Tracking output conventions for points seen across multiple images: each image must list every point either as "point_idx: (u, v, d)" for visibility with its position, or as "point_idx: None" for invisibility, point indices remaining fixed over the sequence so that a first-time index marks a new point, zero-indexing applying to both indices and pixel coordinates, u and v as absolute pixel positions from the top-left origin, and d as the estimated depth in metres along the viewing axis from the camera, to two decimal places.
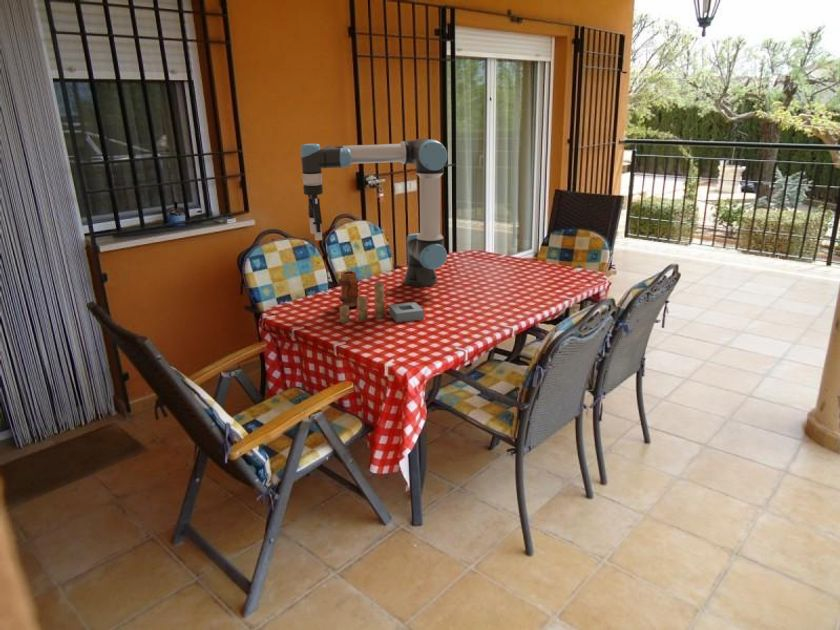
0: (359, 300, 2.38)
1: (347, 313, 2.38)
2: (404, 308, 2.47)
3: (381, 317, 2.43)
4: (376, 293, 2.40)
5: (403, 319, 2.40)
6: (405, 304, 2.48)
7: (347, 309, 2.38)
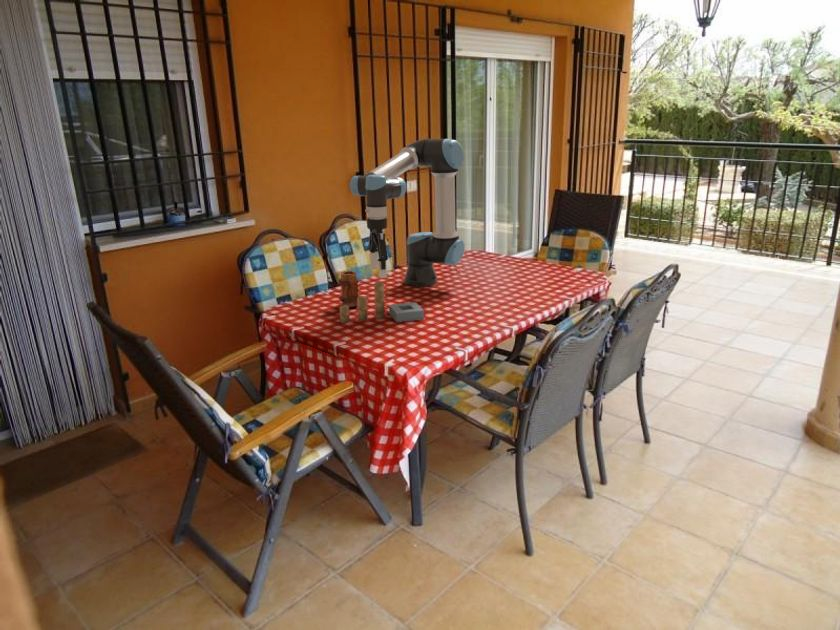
0: (359, 300, 2.38)
1: (347, 313, 2.38)
2: (404, 308, 2.47)
3: (381, 317, 2.43)
4: (376, 293, 2.40)
5: (403, 319, 2.40)
6: (405, 304, 2.48)
7: (347, 309, 2.38)
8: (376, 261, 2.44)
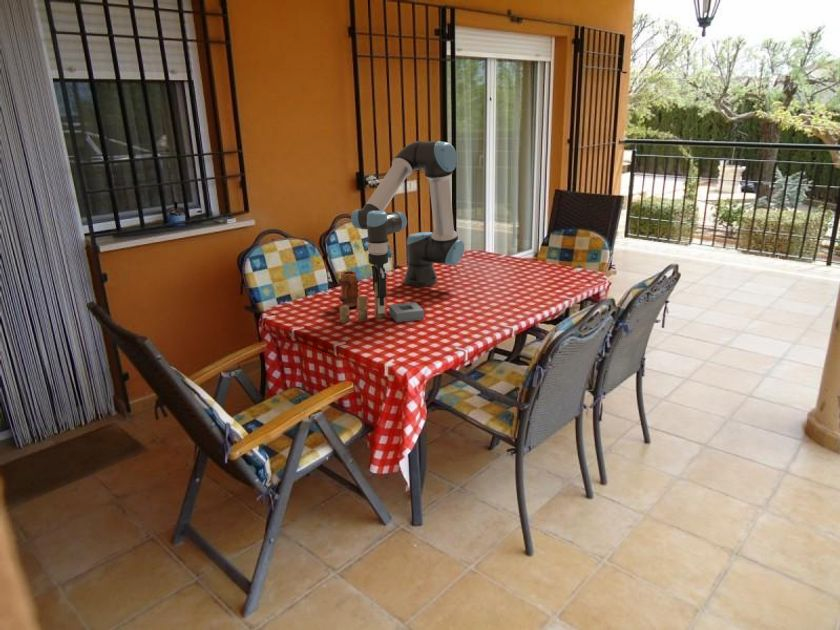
0: (359, 300, 2.38)
1: (347, 313, 2.38)
2: (404, 308, 2.47)
3: (381, 317, 2.43)
4: (376, 293, 2.40)
5: (403, 319, 2.40)
6: (405, 304, 2.48)
7: (347, 309, 2.38)
8: None
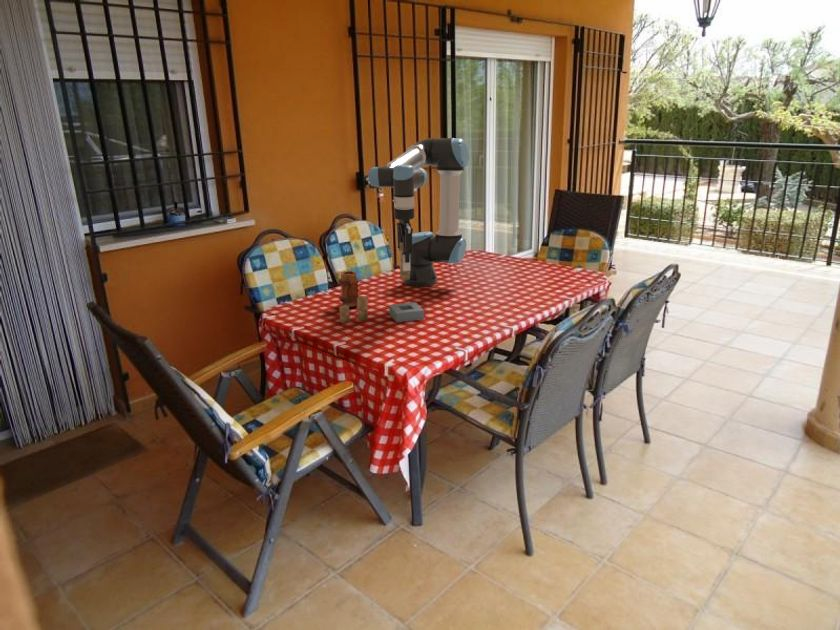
0: (359, 300, 2.38)
1: (347, 313, 2.38)
2: (404, 308, 2.47)
3: (406, 278, 2.39)
4: (401, 253, 2.36)
5: (403, 319, 2.40)
6: (405, 304, 2.48)
7: (347, 309, 2.38)
8: None
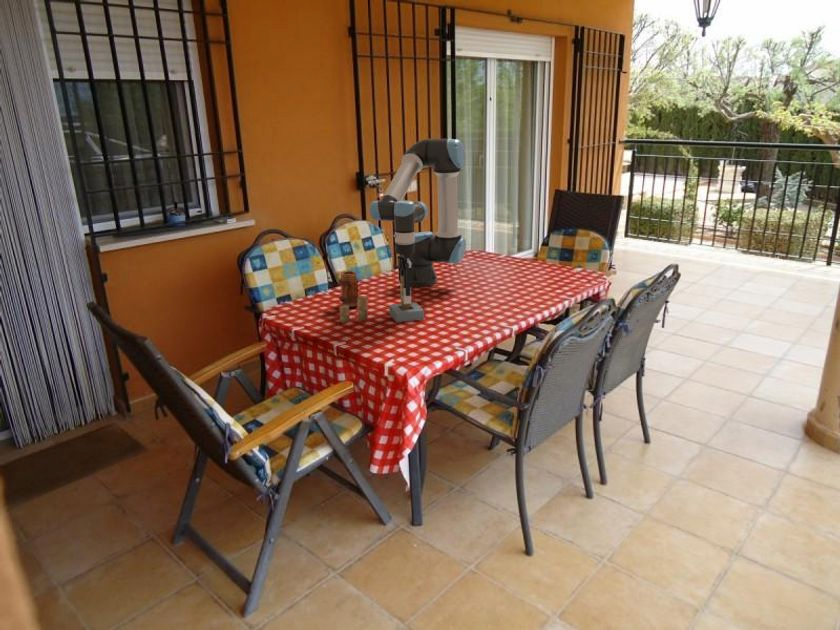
0: (359, 300, 2.38)
1: (347, 313, 2.38)
2: None
3: None
4: (402, 286, 2.40)
5: (403, 319, 2.40)
6: None
7: (347, 309, 2.38)
8: None
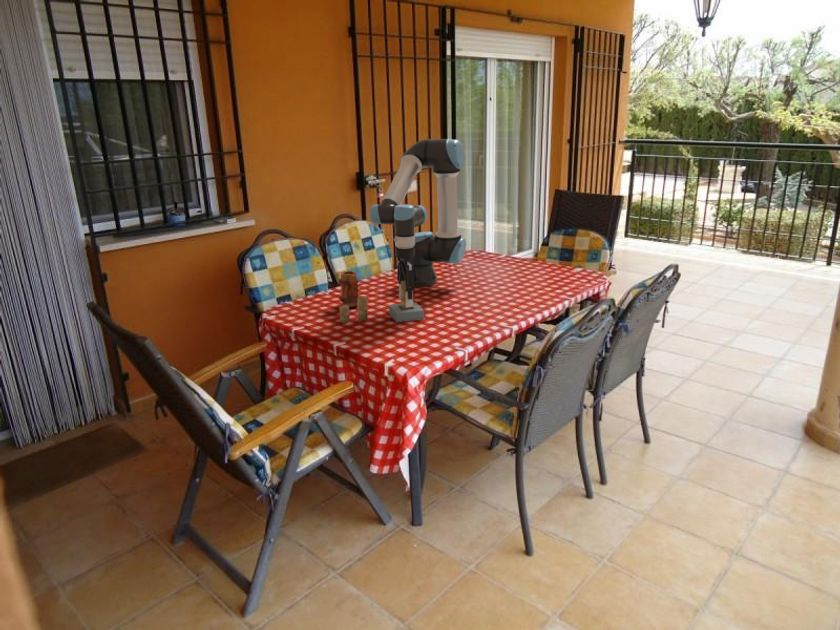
0: (359, 300, 2.38)
1: (347, 313, 2.38)
2: None
3: None
4: (402, 292, 2.41)
5: (403, 319, 2.40)
6: None
7: (347, 309, 2.38)
8: None
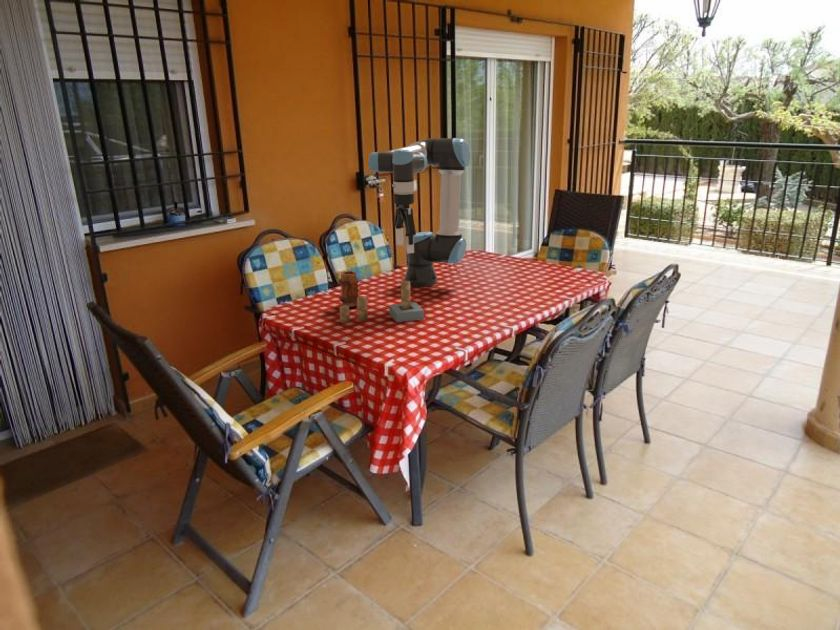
0: (359, 300, 2.38)
1: (347, 313, 2.38)
2: None
3: None
4: (402, 292, 2.41)
5: (403, 319, 2.40)
6: None
7: (347, 309, 2.38)
8: (402, 237, 2.43)
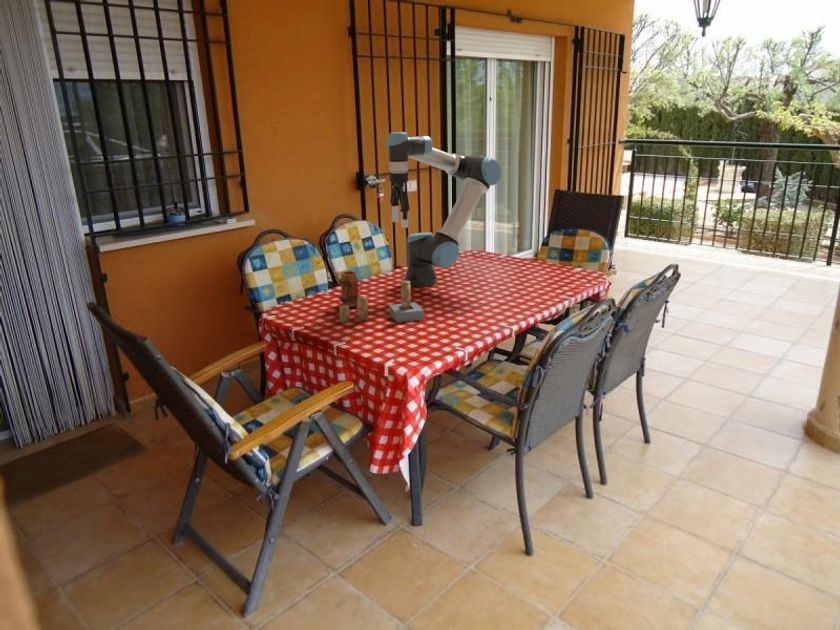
0: (360, 300, 2.38)
1: (347, 313, 2.38)
2: None
3: None
4: (402, 292, 2.41)
5: (403, 319, 2.40)
6: None
7: (347, 309, 2.38)
8: (397, 214, 2.63)
